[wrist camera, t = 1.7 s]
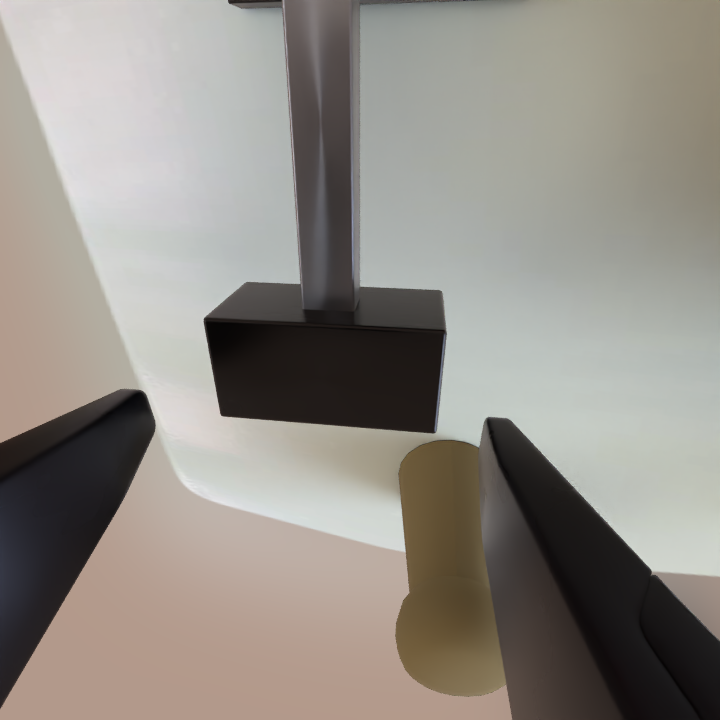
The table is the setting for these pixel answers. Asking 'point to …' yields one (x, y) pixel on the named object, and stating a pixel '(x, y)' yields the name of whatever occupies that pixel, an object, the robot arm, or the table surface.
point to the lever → (328, 271)
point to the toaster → (276, 1)
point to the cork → (446, 575)
